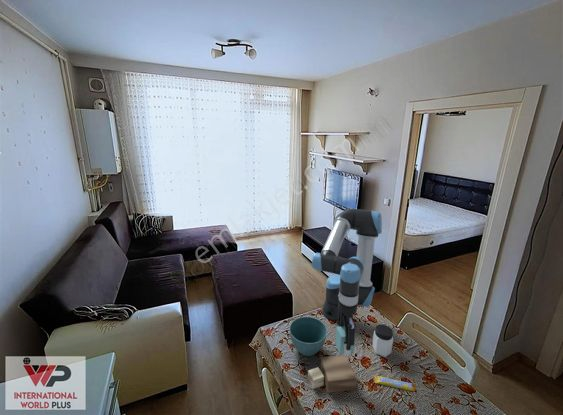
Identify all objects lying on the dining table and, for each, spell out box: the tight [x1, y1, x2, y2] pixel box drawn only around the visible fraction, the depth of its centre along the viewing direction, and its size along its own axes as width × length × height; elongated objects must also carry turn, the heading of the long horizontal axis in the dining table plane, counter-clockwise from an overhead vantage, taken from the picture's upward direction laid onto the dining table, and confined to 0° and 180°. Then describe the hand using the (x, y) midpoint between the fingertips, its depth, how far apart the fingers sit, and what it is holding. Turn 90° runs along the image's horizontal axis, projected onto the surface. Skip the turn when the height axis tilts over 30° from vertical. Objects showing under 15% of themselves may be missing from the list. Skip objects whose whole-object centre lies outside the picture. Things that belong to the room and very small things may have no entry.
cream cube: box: [307, 366, 325, 390], centre depth 111 cm, size 5×5×5 cm
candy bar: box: [373, 374, 417, 392], centre depth 111 cm, size 17×4×2 cm, turn 76°
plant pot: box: [289, 316, 328, 357], centre depth 128 cm, size 18×18×12 cm
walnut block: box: [320, 355, 357, 393], centre depth 113 cm, size 12×12×6 cm
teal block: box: [334, 326, 356, 356], centre depth 110 cm, size 6×6×9 cm
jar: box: [371, 323, 394, 358], centre depth 128 cm, size 9×8×12 cm
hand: (343, 348), depth 111 cm, fingers closed on teal block, 6 cm apart
